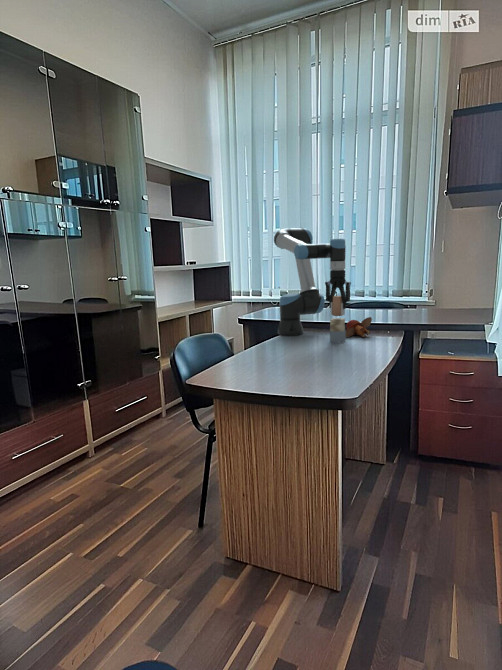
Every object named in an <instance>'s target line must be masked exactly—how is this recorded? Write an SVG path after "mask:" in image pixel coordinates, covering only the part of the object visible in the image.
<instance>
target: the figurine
mask: <svg viewBox="0 0 502 670" xmlns="http://www.w3.org/2000/svg"><path fill="white" fill-rule="evenodd" d="M372 320H373V319H372V317H370V316H369V317H366V318H364V319H363V320H362V321H361V322H360V321H359V320H358V319H357V320H356V319H351V320H348V321H347V323H346V324H345V330H346V335H345V338H350V337H352V336H355V335H357V336H360V337H361V338H362V339H364V337H367V336H368V335H371V333H372V332H371V330H370V329H369V330H368V329H367V327H369V326H370V325H371V324H372Z"/></svg>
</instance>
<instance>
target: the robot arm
mask: <svg viewBox="0 0 502 670" xmlns="http://www.w3.org/2000/svg"><path fill="white" fill-rule="evenodd" d="M313 238H314V237H313V235H312V232H311V230H310V229H308V228H305V227H298V228H297V227H293V228H292V227H291V228H287V227H286V228H282V229H279V230H278V231H276V232H275V234H274V236H273V243H274V245H275V246H276V247H277V248H279V249H281V250H286V251H288V252H290V253H292V254H293V255H294V257H295V259H294V260H295V263H296V268H297V273H298V279H299V286H300V292H299V293H298V292H293V293H292V292H291V293H287V294H283V295H281V296H280V297H279V314H280V315H279V316H280V317H279V319H280V320H279V324H278V327H277V335H279V336H288V337H290V336H294V337H295V336H301V335H303V334H304V327H303V325H302V322H301V316H304V315H305V316H306V315H315V314H320V313H322V312H323V310H324V307H325V301H326V302H328V305H329V306H328V307H329V309H330V315H331V316H333V296H336V295H335V294H336V290H337V289H338V290H339V292H340V296H341V298H342V303H341V315H342V316H341V317H343V316H345V315H346V314H345V313H346V309H347V303H348V302H350V301H351V284H352V283H351V281H348V280H346V248H347V247H346V240H345V239H344V238H332V239H330V240H329V243H313ZM312 259H330V260H329V263H330V264H329V265H330V274H329V277H330V279H329V280H328V281H325V282H324V286H325V296H324V294H322V293H320V291H319V289H318V288H316V283H315V278H314V274H313V267H312V262H311V260H312ZM344 285H345V286H344ZM344 287H345V288H344Z"/></svg>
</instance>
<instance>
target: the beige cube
mask: <svg viewBox="0 0 502 670" xmlns="http://www.w3.org/2000/svg"><path fill="white" fill-rule="evenodd" d="M345 321H346V318H342V317H333V318H331V319H330V322H329V323H330V324H329V327H330V329H329V332H330V331H338V332H342V331H343V330H346V324H345V323H346V322H345Z"/></svg>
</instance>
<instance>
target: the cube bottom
mask: <svg viewBox="0 0 502 670" xmlns="http://www.w3.org/2000/svg"><path fill="white" fill-rule="evenodd" d="M346 330H347V329H345V330H343V331H342V332H338V331H330V330H329V342H330V343H334V344H335V343H336V344H342V343H343V342H346V337H345V335H346Z"/></svg>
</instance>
